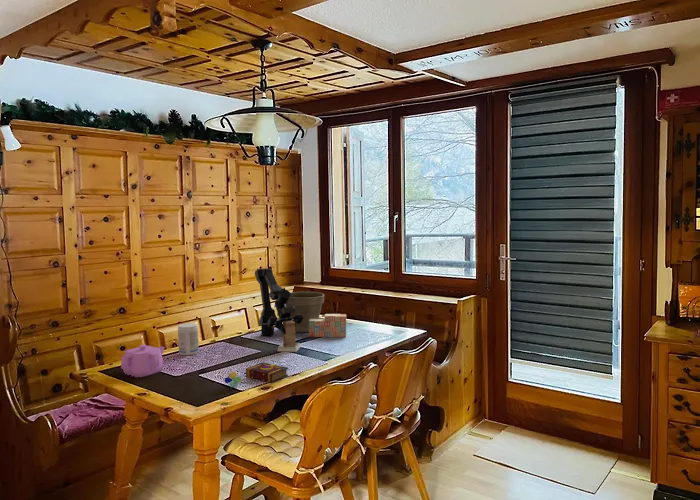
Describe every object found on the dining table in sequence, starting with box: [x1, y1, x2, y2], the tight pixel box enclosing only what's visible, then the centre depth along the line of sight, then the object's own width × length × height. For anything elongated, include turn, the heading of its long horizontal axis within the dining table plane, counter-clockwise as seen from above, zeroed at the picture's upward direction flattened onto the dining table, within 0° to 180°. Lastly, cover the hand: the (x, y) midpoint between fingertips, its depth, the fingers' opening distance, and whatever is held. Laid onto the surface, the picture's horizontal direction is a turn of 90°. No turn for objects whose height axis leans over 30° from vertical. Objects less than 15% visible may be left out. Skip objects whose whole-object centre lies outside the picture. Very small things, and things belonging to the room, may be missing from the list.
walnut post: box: [282, 321, 296, 347], centre depth 282 cm, size 5×5×13 cm
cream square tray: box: [277, 342, 301, 353], centre depth 283 cm, size 10×10×2 cm
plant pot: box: [286, 291, 325, 333], centre depth 326 cm, size 25×25×22 cm
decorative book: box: [245, 361, 289, 384], centre depth 237 cm, size 11×16×5 cm
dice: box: [224, 371, 242, 388], centre depth 225 cm, size 8×3×6 cm, turn 56°
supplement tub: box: [177, 322, 199, 356], centre depth 274 cm, size 10×10×15 cm
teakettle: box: [120, 344, 165, 378], centre depth 244 cm, size 17×17×12 cm
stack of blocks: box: [308, 313, 347, 338], centre depth 311 cm, size 21×6×12 cm, turn 87°
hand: (289, 333), depth 281 cm, fingers open, 5 cm apart
